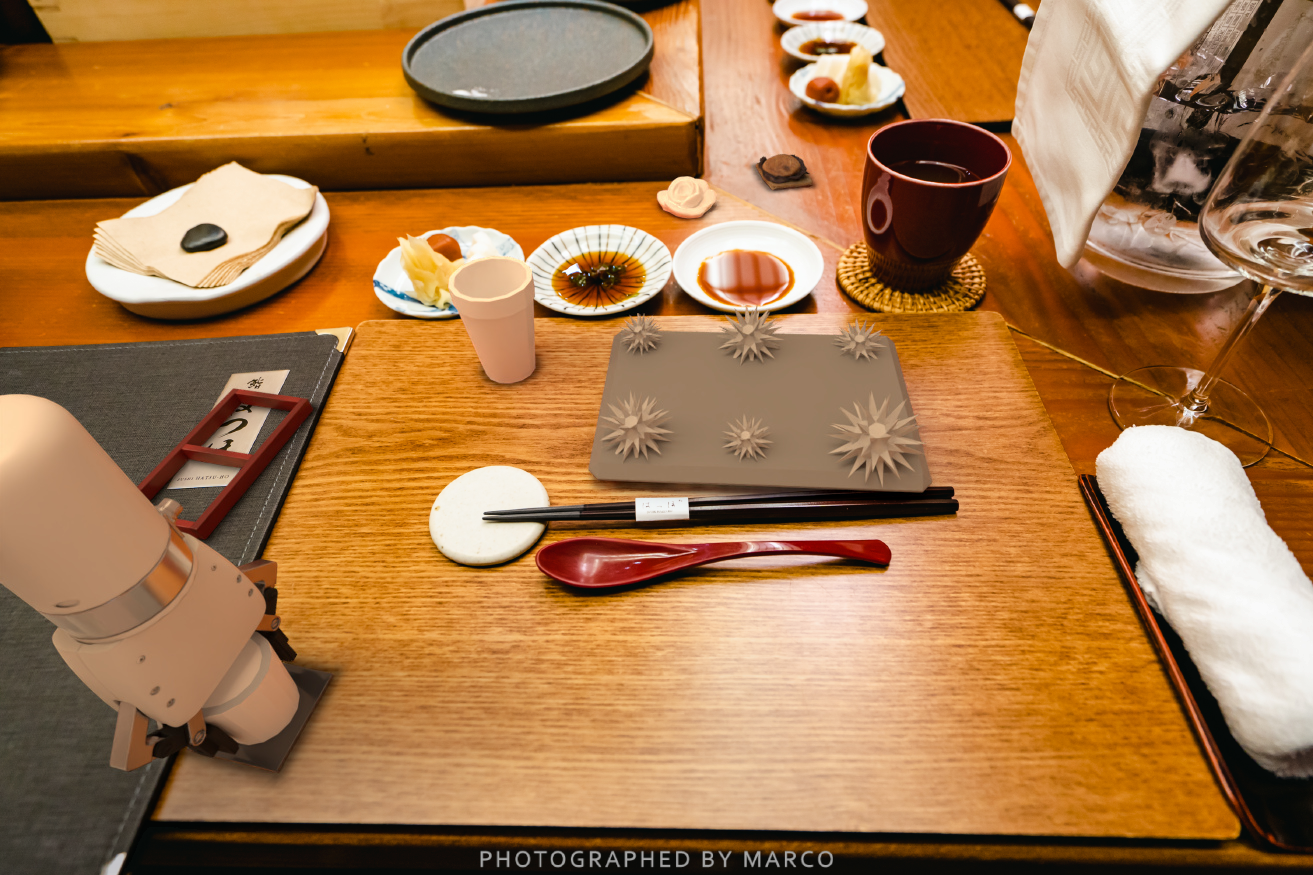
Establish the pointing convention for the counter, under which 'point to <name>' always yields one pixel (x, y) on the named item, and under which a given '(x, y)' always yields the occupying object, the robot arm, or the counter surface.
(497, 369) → the foam cup
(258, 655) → the pink candle cup
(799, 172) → the chocolate cookie
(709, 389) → the decorative tray
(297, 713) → the slate mat
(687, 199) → the rose
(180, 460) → the frame
